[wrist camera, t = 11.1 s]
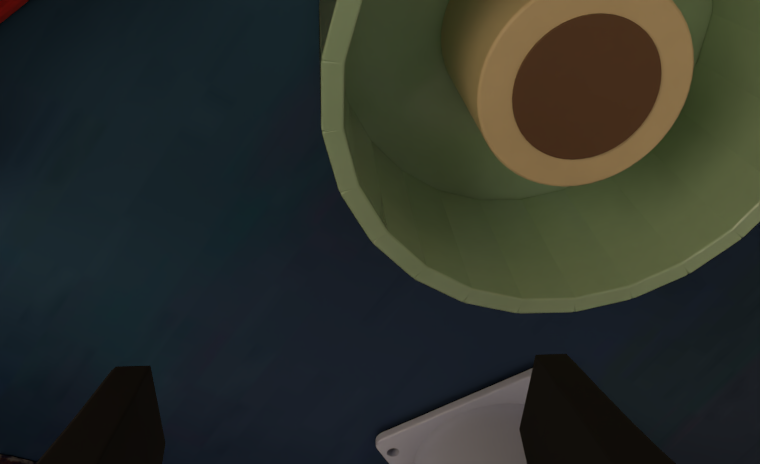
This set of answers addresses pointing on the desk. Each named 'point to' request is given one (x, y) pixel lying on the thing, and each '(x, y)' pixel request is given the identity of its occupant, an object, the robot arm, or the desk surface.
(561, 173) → the tape roll
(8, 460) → the storage jar
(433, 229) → the green bowl
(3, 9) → the red curved piece
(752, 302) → the desk surface
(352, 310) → the desk surface
